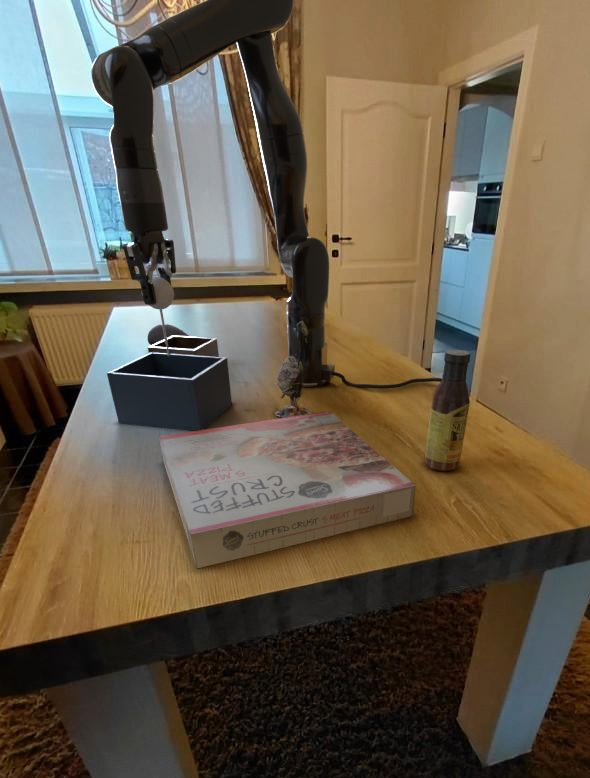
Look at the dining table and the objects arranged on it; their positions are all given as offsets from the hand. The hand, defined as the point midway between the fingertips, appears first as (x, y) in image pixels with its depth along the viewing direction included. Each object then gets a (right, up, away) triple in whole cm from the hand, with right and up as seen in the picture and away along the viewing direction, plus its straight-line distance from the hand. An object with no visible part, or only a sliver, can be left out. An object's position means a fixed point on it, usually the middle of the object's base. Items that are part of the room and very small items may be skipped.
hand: (159, 301), depth 97 cm
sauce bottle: (+54, -33, -8) cm, 64 cm away
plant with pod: (+25, -20, +12) cm, 34 cm away
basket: (-7, -1, +41) cm, 42 cm away
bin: (0, -20, +12) cm, 23 cm away
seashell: (-18, +12, +62) cm, 66 cm away
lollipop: (0, -9, +6) cm, 11 cm away
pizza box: (+25, -38, -16) cm, 48 cm away
